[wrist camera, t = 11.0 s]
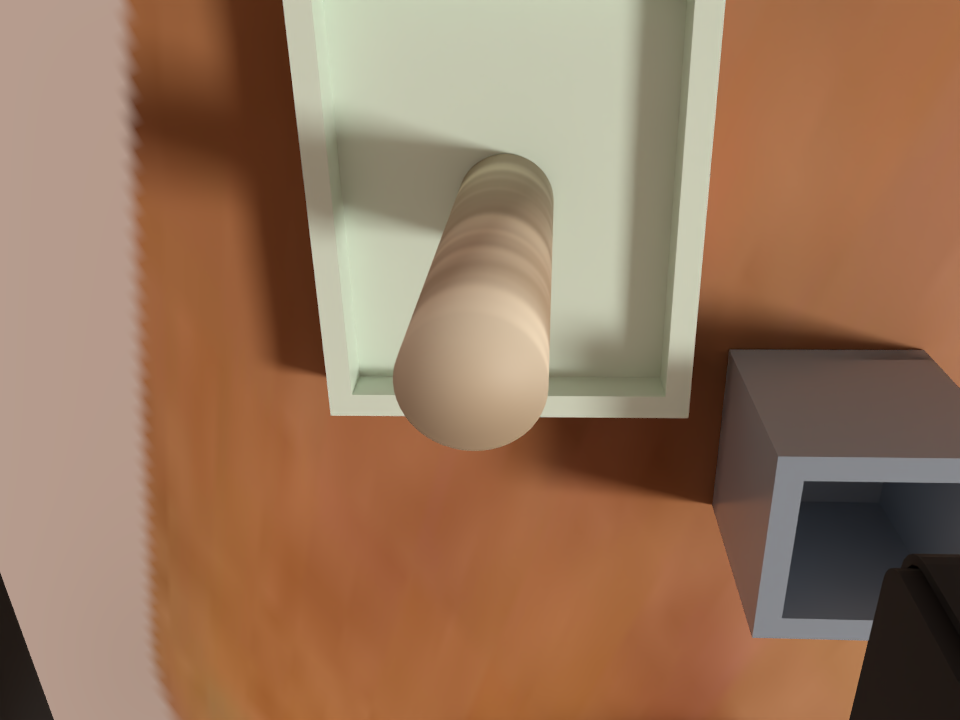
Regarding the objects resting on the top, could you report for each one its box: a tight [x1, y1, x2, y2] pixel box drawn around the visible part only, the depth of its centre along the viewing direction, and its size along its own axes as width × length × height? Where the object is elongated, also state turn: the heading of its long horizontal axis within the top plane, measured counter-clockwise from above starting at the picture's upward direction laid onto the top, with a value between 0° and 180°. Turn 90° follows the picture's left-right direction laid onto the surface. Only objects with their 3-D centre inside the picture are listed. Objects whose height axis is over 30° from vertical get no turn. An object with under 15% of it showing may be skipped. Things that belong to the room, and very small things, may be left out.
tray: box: [283, 0, 726, 418], centre depth 27 cm, size 14×12×3 cm
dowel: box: [393, 154, 554, 451], centre depth 22 cm, size 3×3×12 cm
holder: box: [712, 349, 960, 640], centre depth 28 cm, size 7×7×7 cm
